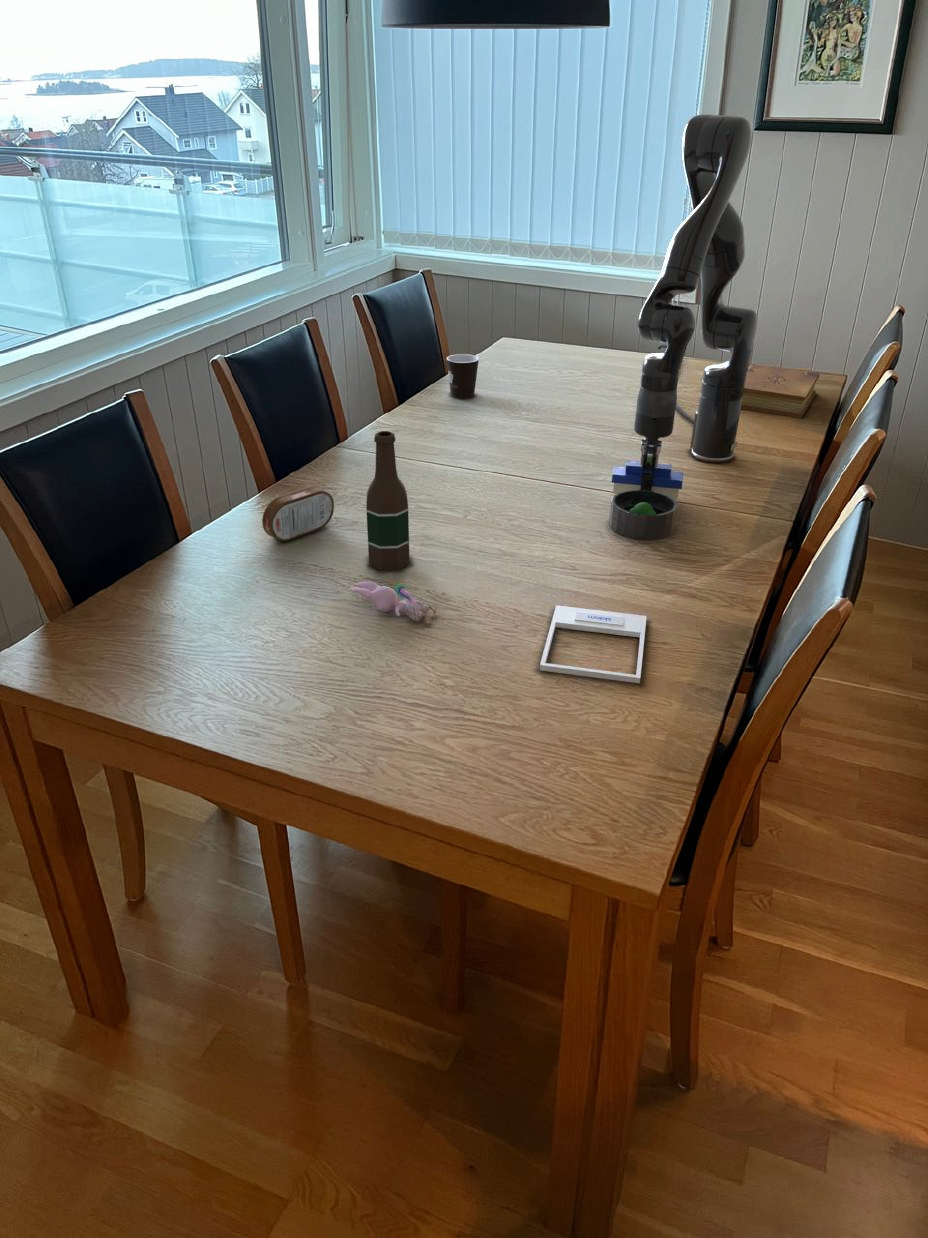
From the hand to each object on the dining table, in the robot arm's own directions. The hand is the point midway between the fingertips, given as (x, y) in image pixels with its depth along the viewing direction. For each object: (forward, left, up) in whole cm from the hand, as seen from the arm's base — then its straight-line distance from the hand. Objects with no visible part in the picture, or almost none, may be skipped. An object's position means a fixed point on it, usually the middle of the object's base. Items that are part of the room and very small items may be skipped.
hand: (645, 489), depth 189 cm
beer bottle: (+7, -58, -3) cm, 58 cm away
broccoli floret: (+11, -8, -2) cm, 14 cm away
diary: (-46, +69, -2) cm, 83 cm away
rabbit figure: (+24, -63, -3) cm, 67 cm away
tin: (-10, -70, -3) cm, 70 cm away
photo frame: (+45, -37, -2) cm, 59 cm away
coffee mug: (-81, -8, -3) cm, 81 cm away
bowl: (+11, -8, -2) cm, 14 cm away
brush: (0, 0, -1) cm, 1 cm away
